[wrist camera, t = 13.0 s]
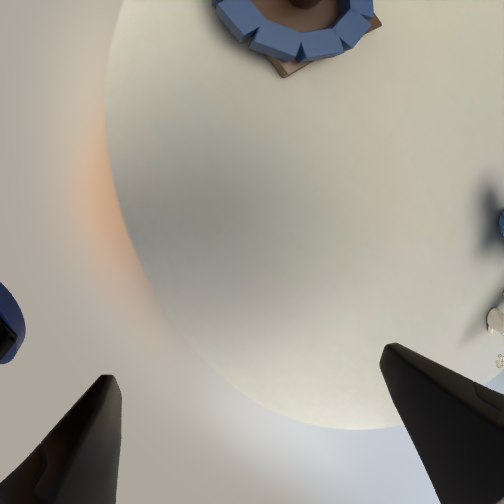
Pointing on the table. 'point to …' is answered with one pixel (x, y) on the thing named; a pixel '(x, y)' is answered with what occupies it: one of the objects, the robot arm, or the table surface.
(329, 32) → the ring
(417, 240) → the table surface
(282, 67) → the post
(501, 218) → the grapes
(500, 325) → the toy creature
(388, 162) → the table surface
